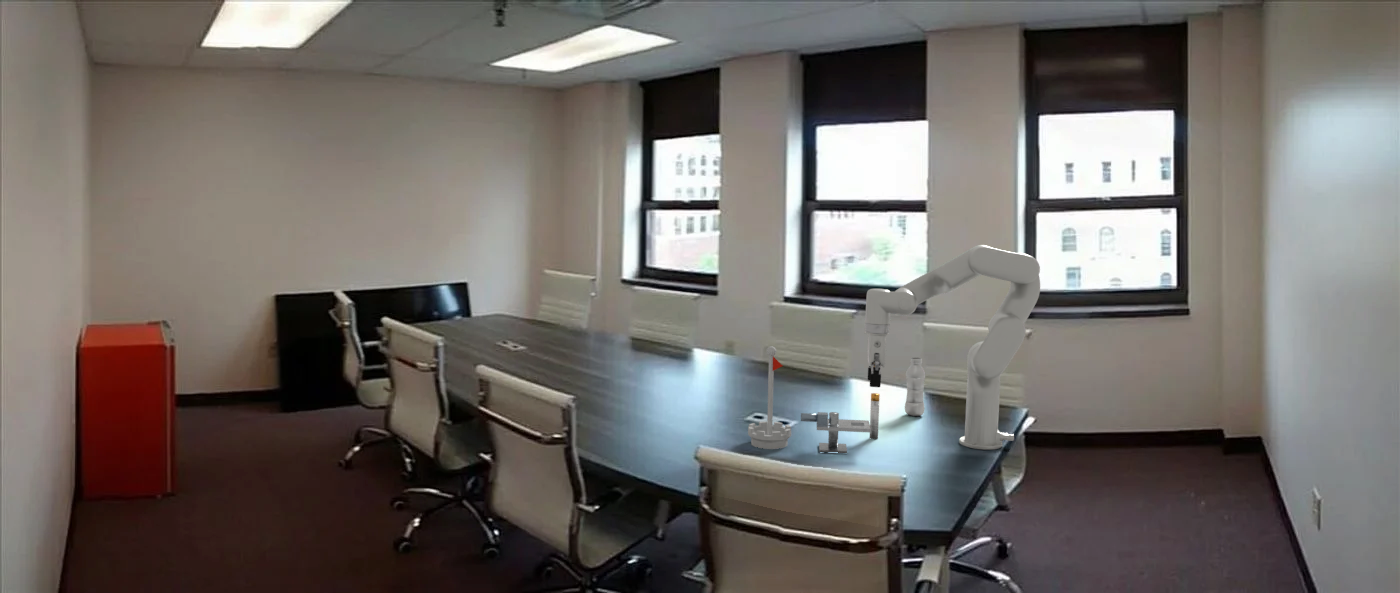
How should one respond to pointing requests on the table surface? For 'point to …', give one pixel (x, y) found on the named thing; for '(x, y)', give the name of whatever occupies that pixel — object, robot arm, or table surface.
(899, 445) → the table surface
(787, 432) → the flag stand
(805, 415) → the plate with square hole
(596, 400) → the table surface
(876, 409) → the pin
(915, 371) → the plastic bottle
